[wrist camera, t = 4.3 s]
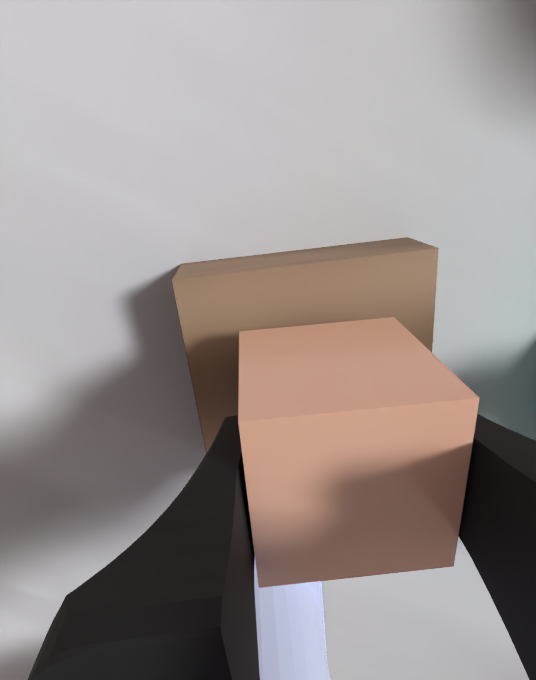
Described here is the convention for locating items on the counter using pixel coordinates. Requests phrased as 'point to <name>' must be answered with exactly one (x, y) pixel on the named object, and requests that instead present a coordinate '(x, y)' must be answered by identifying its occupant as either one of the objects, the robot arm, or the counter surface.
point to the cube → (351, 451)
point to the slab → (294, 305)
